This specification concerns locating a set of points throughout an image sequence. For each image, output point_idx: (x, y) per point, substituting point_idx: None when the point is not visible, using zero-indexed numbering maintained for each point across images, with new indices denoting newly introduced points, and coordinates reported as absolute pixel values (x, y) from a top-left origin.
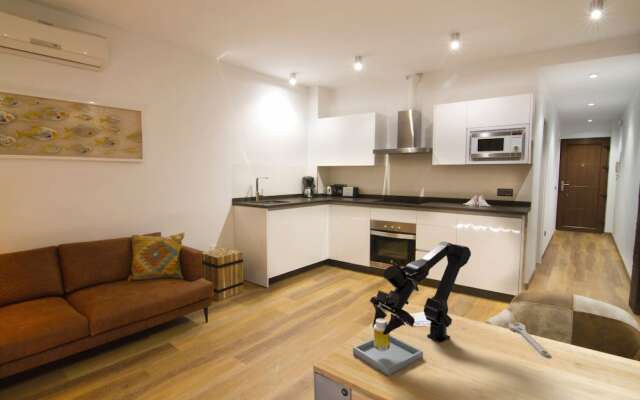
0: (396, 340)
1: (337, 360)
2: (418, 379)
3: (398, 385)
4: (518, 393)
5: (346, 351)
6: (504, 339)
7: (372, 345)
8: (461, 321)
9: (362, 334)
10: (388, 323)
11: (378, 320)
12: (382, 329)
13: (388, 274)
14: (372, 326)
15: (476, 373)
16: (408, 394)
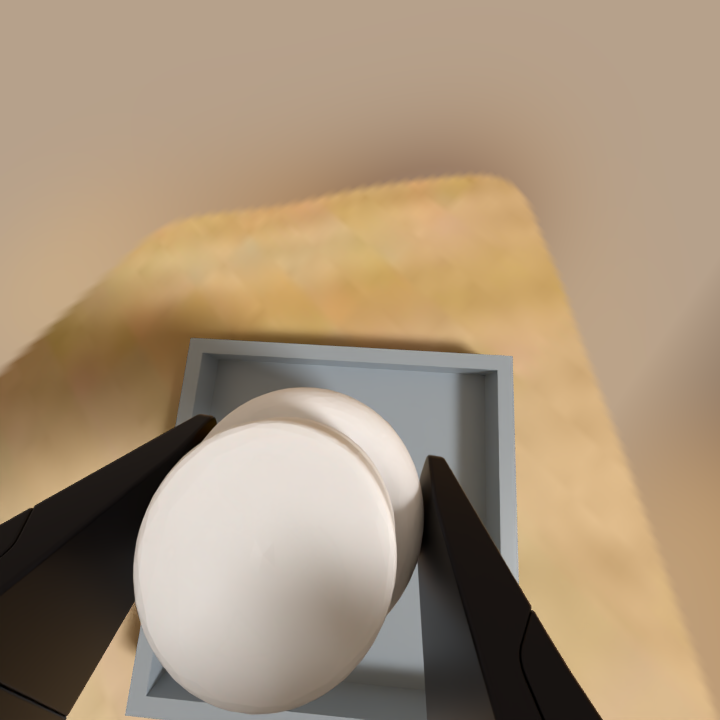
0: (384, 713)
1: (494, 255)
2: (82, 441)
3: (136, 326)
4: None
5: (540, 353)
6: None
7: (484, 525)
8: None
9: (671, 616)
10: (43, 544)
11: (312, 500)
12: (215, 432)
13: None
14: (442, 457)
15: None
16: (69, 308)
